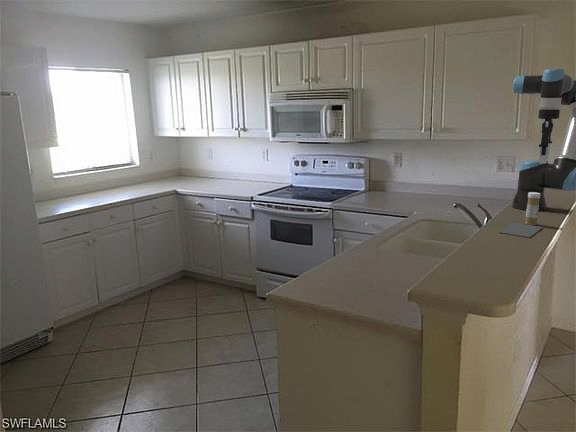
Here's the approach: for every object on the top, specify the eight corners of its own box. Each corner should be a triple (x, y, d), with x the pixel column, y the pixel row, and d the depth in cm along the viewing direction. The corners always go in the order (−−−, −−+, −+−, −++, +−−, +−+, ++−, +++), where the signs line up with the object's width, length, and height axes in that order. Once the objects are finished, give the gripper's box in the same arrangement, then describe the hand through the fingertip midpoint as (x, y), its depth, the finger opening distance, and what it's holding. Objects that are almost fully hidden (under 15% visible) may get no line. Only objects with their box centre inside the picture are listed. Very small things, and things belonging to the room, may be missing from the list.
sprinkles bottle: (529, 222, 204) (533, 191, 201) (539, 225, 201) (543, 193, 197) (522, 223, 203) (525, 192, 200) (531, 226, 199) (535, 194, 196)
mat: (514, 223, 202) (514, 222, 202) (542, 228, 195) (542, 227, 195) (499, 233, 188) (499, 232, 187) (529, 238, 181) (529, 237, 180)
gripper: (541, 107, 206) (535, 157, 211) (536, 109, 185) (530, 164, 191) (561, 107, 202) (555, 157, 208) (558, 109, 182) (552, 165, 187)
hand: (543, 161), depth 199 cm, fingers open, 13 cm apart
